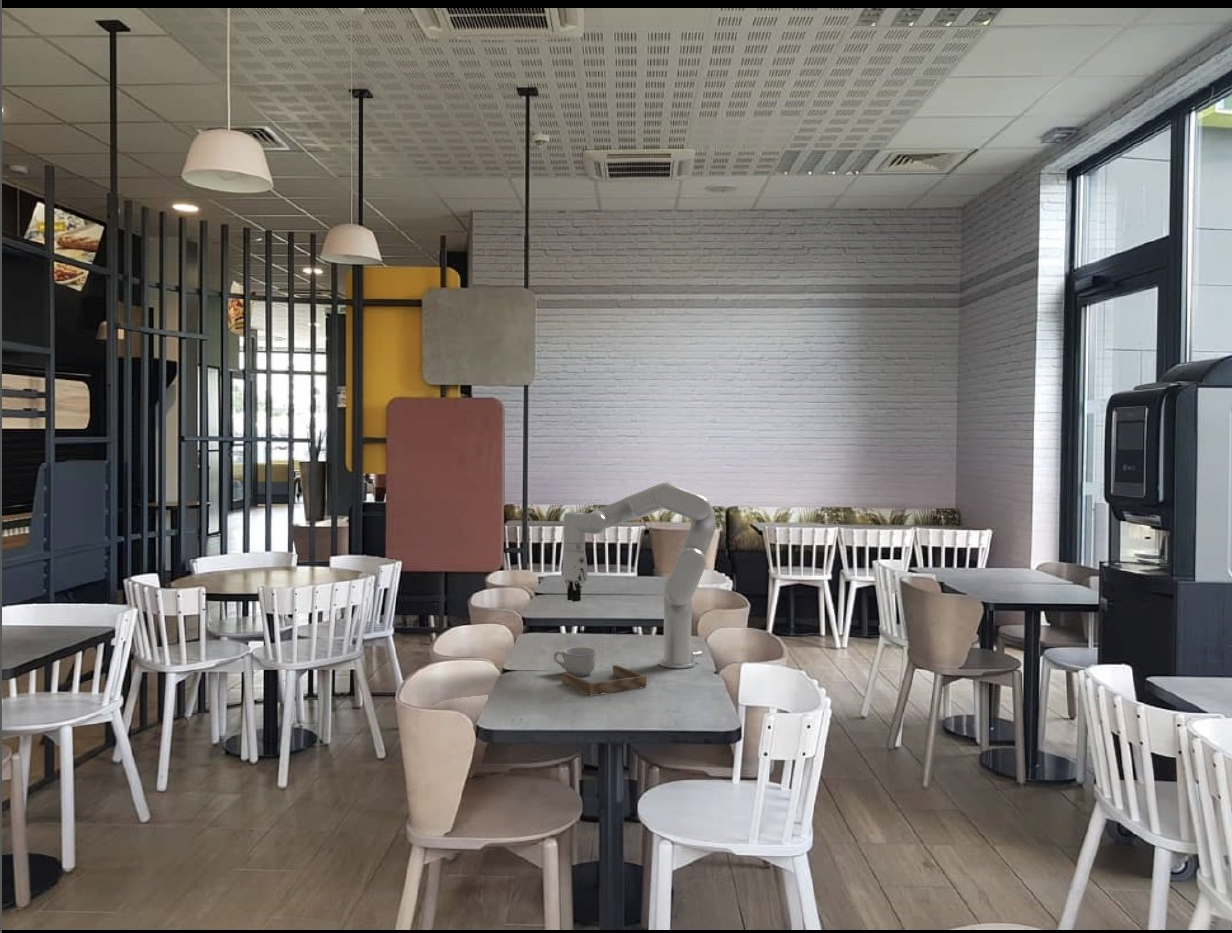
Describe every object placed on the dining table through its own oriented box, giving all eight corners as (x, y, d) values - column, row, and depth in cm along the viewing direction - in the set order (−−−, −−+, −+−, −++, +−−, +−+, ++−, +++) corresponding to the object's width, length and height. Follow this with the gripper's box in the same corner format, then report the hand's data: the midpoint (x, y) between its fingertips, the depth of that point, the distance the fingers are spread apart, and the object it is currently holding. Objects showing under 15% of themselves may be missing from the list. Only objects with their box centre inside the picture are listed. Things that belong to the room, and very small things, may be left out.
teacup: (599, 671, 328) (599, 647, 327) (590, 679, 317) (590, 654, 317) (560, 668, 331) (560, 645, 331) (549, 675, 321) (549, 651, 321)
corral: (615, 675, 322) (616, 665, 322) (646, 687, 307) (646, 676, 307) (562, 683, 311) (562, 672, 311) (590, 696, 296) (590, 684, 296)
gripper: (595, 549, 333) (595, 603, 334) (572, 545, 347) (571, 596, 347) (576, 550, 329) (576, 604, 330) (553, 546, 343) (553, 598, 343)
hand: (573, 600), depth 338 cm, fingers open, 2 cm apart
